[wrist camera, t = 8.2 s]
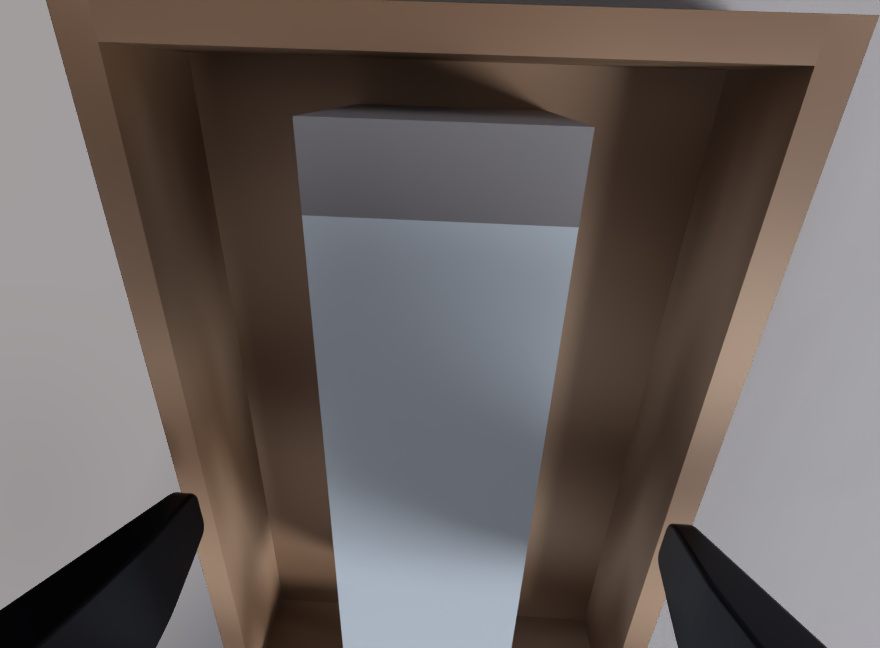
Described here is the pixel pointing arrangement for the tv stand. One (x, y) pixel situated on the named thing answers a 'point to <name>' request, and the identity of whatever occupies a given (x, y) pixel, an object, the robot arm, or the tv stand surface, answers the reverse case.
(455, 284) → the long pale blue block
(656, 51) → the open brown box
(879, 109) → the tv stand surface
